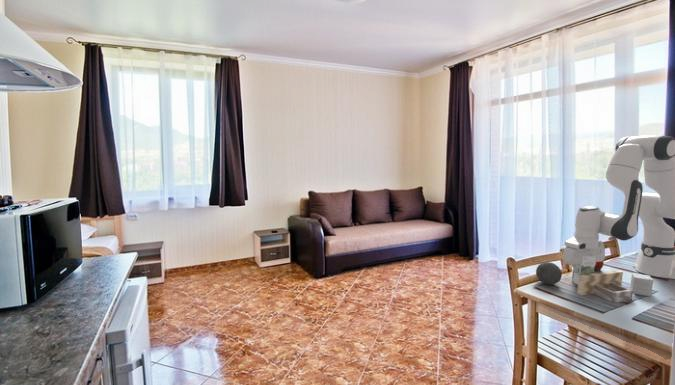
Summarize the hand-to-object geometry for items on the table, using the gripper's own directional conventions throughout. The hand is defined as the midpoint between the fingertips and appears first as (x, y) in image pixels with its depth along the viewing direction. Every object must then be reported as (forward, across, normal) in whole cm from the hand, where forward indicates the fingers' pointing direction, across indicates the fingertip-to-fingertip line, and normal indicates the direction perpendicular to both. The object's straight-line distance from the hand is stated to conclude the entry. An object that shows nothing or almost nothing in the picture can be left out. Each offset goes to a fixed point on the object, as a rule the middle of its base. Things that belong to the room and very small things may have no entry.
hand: (583, 271), depth 155 cm
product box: (+6, -16, +14) cm, 22 cm away
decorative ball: (+6, +14, -5) cm, 16 cm away
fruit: (+6, -23, -13) cm, 27 cm away
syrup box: (+6, 0, 0) cm, 6 cm away
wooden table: (+6, 0, +12) cm, 14 cm away
